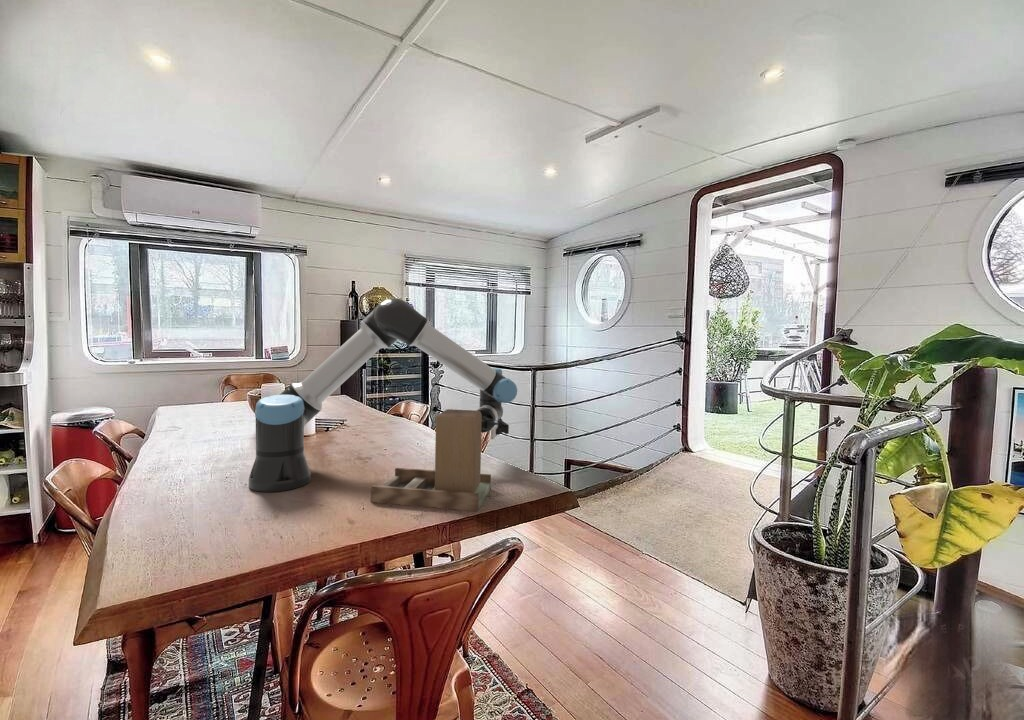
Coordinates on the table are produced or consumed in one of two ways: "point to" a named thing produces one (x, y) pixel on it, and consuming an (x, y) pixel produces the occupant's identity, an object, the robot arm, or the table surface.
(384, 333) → the robot arm
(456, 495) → the box
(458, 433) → the block
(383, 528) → the table surface
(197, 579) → the table surface
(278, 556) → the table surface
